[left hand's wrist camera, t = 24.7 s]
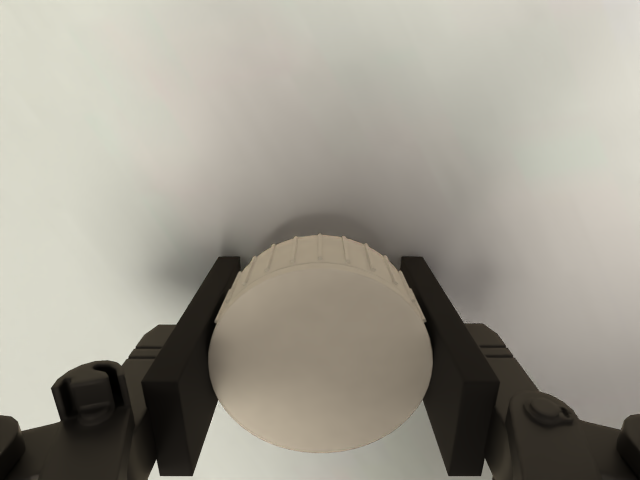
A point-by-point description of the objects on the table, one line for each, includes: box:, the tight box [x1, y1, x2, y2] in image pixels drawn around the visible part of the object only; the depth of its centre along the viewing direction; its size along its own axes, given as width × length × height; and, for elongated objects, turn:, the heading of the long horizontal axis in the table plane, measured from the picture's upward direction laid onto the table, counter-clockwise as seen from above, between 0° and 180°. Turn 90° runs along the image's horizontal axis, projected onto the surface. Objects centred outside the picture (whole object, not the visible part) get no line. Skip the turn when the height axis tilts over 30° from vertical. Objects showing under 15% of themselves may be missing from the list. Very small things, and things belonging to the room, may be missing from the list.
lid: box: [208, 233, 433, 453], centre depth 11 cm, size 6×6×2 cm
